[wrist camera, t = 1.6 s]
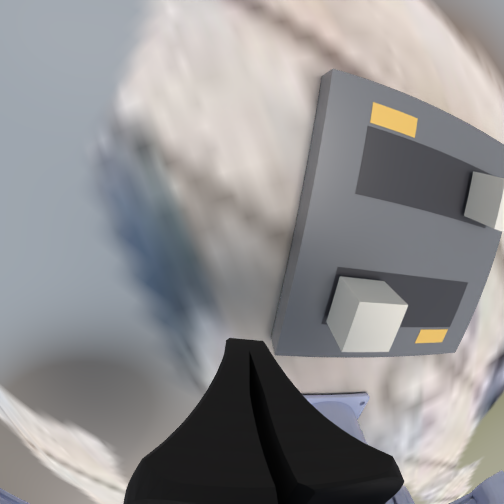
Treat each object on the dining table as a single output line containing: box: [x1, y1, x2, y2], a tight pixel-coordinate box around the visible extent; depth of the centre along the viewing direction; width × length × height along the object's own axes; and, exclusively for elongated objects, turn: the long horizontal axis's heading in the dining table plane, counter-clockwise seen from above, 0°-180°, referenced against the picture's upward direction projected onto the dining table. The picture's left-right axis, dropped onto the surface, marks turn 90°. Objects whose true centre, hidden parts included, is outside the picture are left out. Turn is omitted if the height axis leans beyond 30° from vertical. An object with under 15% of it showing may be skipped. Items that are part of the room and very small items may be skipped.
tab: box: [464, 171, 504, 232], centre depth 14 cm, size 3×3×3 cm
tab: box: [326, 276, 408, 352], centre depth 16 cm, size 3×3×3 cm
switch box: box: [271, 69, 504, 357], centre depth 18 cm, size 17×16×2 cm
